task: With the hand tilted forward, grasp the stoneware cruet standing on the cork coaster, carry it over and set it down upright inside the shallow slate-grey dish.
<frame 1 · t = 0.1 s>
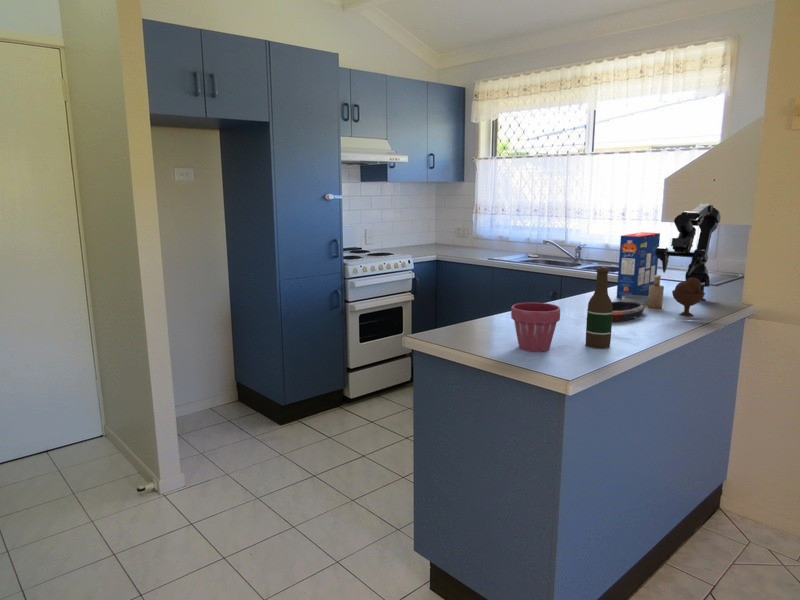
hand: (675, 273, 230), 15 cm above the table, tool tilted 35°, fingers open, 9 cm apart
pasta box: (636, 296, 264), on the table
slate dish: (637, 304, 244), on the table
beer bottle: (597, 346, 177), on the table
coaster: (654, 309, 233), on the table
ice cream bowl: (686, 316, 220), on the table
plant pot: (533, 348, 175), on the table
cruet: (654, 307, 233), resting on coaster
dish: (616, 318, 219), on the table
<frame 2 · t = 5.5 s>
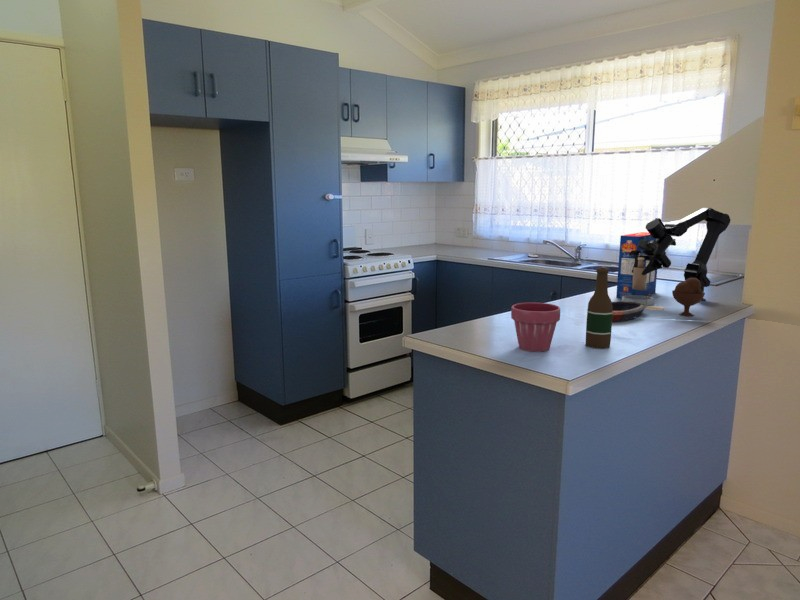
hand: (637, 273, 241), 13 cm above the table, tool tilted 45°, fingers closed on cruet, 5 cm apart
cruet: (638, 288, 243), point 6 cm above the table, touching gripper
everything else where it was.
when the fingers open (8 cm above the table, at t = 6.6 s): cruet stays where it is, resting on slate dish.
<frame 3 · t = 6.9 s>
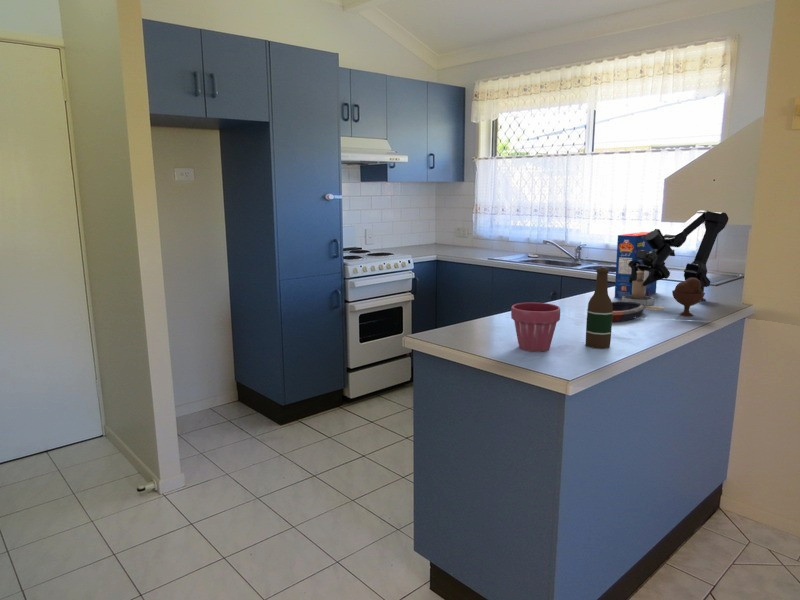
hand: (636, 284, 242), 9 cm above the table, tool tilted 45°, fingers open, 7 cm apart
pasta box: (635, 295, 265), on the table, touching gripper
cruet: (637, 302, 244), point 1 cm above the table, touching slate dish
everything else where it was.
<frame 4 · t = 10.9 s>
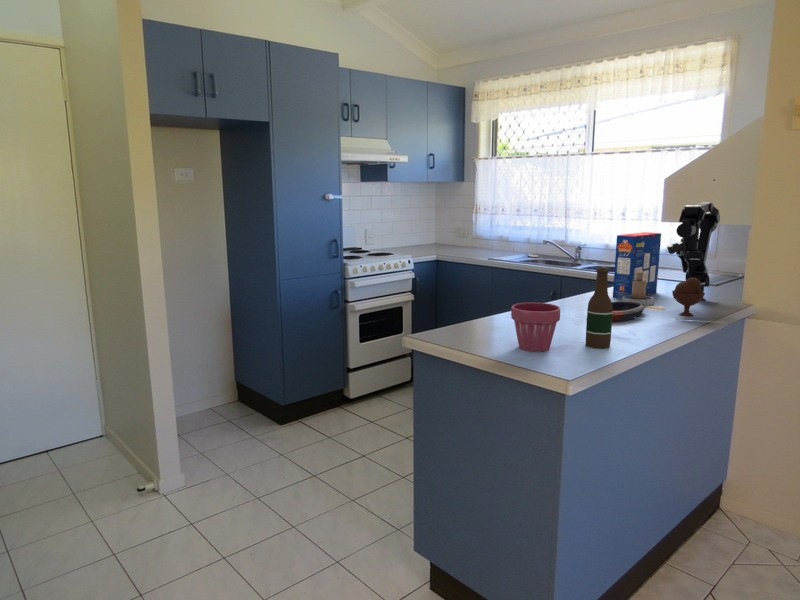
hand: (687, 274, 240), 13 cm above the table, tool pointing down, fingers open, 9 cm apart
pasta box: (634, 295, 265), on the table
everything else where it was.
at the end: cruet 0.1 cm from the slate dish (horizontally); cruet tilted 0°; cruet point 0.8 cm above the table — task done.
